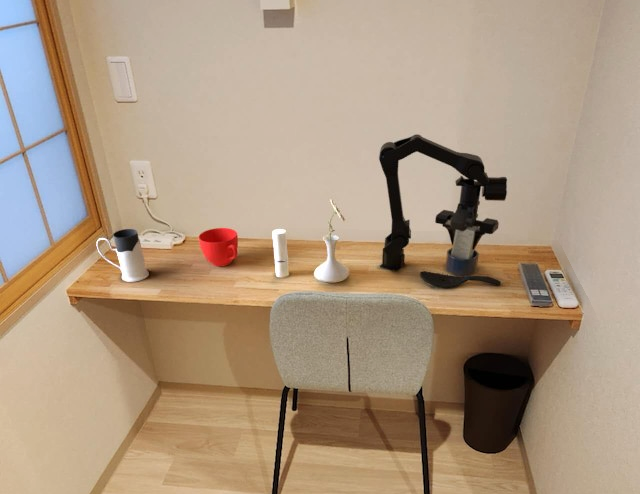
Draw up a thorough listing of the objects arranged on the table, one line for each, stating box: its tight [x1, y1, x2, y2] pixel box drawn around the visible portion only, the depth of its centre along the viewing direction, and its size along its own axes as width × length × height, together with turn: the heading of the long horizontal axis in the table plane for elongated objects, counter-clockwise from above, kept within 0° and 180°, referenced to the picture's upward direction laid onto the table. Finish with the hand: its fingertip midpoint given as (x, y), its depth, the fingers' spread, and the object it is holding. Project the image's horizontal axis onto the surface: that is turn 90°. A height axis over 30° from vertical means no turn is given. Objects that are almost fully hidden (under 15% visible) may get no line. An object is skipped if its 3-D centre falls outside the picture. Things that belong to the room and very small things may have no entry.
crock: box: [444, 247, 480, 276], centre depth 179 cm, size 10×10×6 cm
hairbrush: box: [419, 269, 502, 290], centre depth 171 cm, size 8×4×25 cm
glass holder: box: [95, 228, 150, 283], centre depth 179 cm, size 9×14×15 cm, turn 94°
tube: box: [271, 228, 290, 278], centre depth 176 cm, size 4×4×15 cm
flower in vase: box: [313, 198, 350, 284], centre depth 171 cm, size 13×11×25 cm
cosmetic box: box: [451, 226, 478, 259], centre depth 175 cm, size 6×4×12 cm
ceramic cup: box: [198, 227, 239, 267], centre depth 186 cm, size 13×17×10 cm
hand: (463, 247), depth 176 cm, fingers closed on cosmetic box, 6 cm apart
